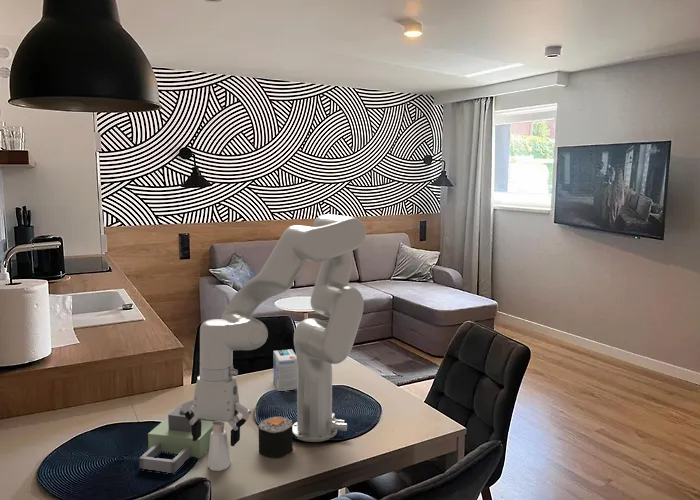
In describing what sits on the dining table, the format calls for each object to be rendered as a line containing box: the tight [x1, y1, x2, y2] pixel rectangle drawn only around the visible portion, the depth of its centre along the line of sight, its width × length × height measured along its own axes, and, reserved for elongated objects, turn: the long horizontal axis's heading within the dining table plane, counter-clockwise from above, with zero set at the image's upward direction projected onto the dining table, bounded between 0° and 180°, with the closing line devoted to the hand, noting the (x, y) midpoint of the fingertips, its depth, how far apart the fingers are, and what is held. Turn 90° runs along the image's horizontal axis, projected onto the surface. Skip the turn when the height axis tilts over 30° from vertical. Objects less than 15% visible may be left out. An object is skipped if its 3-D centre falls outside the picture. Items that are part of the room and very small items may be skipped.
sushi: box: [257, 415, 294, 459], centre depth 140 cm, size 8×8×8 cm
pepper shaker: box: [207, 421, 231, 472], centre depth 133 cm, size 5×5×11 cm
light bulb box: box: [272, 348, 297, 392], centre depth 183 cm, size 11×7×11 cm, turn 17°
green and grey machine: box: [138, 404, 215, 475], centre depth 138 cm, size 14×18×10 cm
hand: (215, 441), depth 132 cm, fingers open, 9 cm apart
